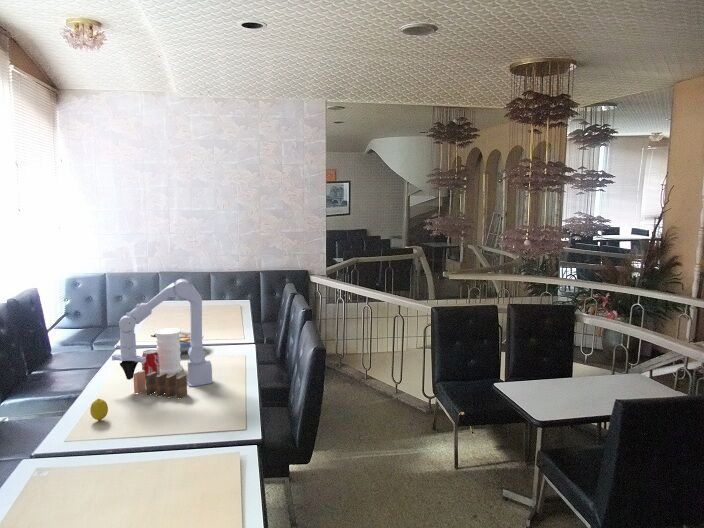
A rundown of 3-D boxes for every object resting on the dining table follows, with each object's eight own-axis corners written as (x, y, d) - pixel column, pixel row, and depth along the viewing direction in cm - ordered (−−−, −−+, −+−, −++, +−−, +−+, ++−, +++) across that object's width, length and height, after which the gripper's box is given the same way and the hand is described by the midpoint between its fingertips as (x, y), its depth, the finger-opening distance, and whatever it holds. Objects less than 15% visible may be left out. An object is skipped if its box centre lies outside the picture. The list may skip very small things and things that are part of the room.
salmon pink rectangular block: (134, 393, 215) (133, 374, 214) (142, 389, 220) (141, 370, 219) (137, 394, 215) (136, 374, 214) (145, 389, 220) (144, 370, 219)
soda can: (154, 381, 229) (153, 354, 227) (139, 380, 230) (137, 353, 229) (163, 376, 236) (162, 349, 234) (148, 375, 237) (147, 348, 236)
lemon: (91, 425, 185) (89, 402, 184) (90, 419, 190) (89, 397, 189) (109, 422, 188) (107, 400, 187) (108, 416, 193) (106, 394, 192)
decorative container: (161, 376, 236) (160, 335, 234) (151, 369, 245) (149, 330, 243) (187, 370, 244) (185, 331, 242) (176, 364, 252) (174, 326, 250)
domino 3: (166, 397, 211) (165, 377, 210) (173, 392, 216) (173, 373, 215) (169, 397, 211) (169, 377, 210) (177, 393, 216) (176, 373, 215)
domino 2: (156, 396, 212) (155, 376, 212) (164, 391, 217) (163, 372, 216) (159, 396, 212) (158, 376, 211) (167, 392, 217) (166, 372, 216)
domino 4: (176, 398, 210) (175, 378, 209) (183, 394, 215) (182, 374, 214) (179, 398, 210) (179, 378, 209) (187, 394, 214) (186, 374, 213)
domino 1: (146, 395, 214) (145, 375, 213) (154, 390, 218) (153, 371, 217) (149, 395, 213) (148, 375, 212) (157, 391, 218) (156, 371, 217)
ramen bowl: (215, 349, 278) (214, 333, 277) (179, 360, 259) (178, 344, 258) (182, 342, 291) (181, 327, 290) (145, 352, 272) (144, 336, 271)
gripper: (105, 347, 215) (107, 380, 216) (137, 349, 211) (138, 383, 212) (118, 342, 221) (119, 374, 223) (148, 345, 217) (150, 377, 219)
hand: (129, 378), depth 218 cm, fingers closed
